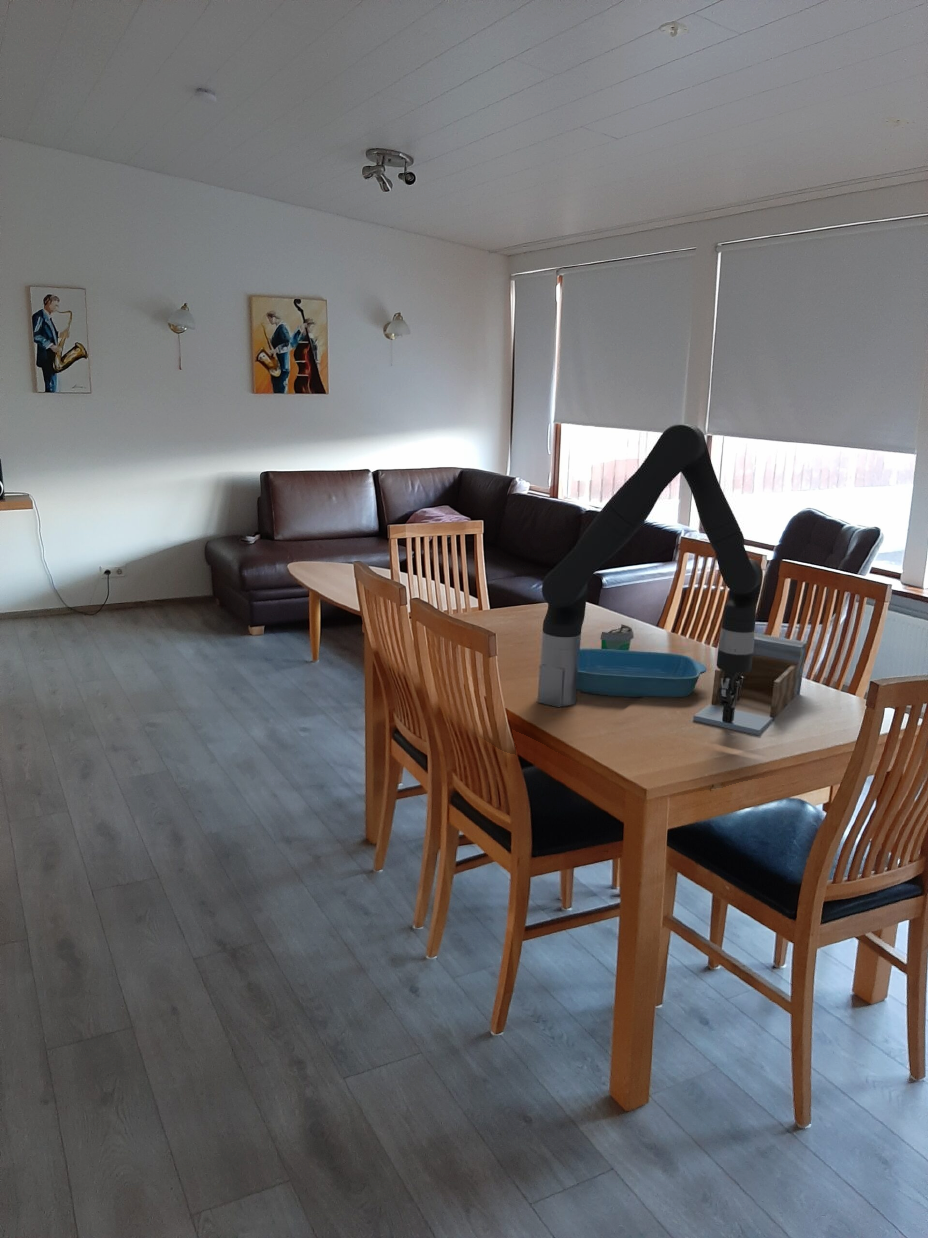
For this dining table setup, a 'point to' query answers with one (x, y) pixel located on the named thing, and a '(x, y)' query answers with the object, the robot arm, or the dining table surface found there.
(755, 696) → the box
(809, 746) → the dining table surface
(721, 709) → the panel
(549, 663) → the robot arm
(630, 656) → the casserole dish
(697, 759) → the dining table surface
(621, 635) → the food container
